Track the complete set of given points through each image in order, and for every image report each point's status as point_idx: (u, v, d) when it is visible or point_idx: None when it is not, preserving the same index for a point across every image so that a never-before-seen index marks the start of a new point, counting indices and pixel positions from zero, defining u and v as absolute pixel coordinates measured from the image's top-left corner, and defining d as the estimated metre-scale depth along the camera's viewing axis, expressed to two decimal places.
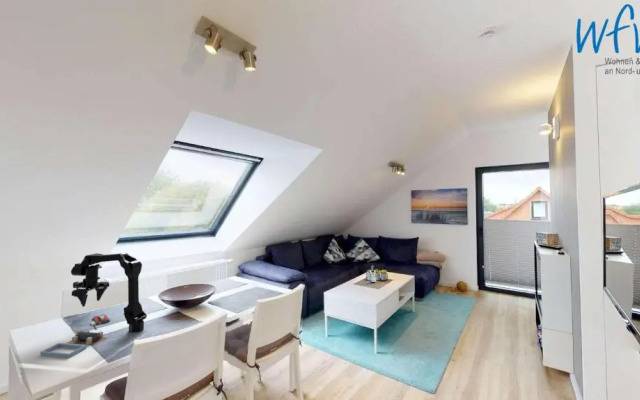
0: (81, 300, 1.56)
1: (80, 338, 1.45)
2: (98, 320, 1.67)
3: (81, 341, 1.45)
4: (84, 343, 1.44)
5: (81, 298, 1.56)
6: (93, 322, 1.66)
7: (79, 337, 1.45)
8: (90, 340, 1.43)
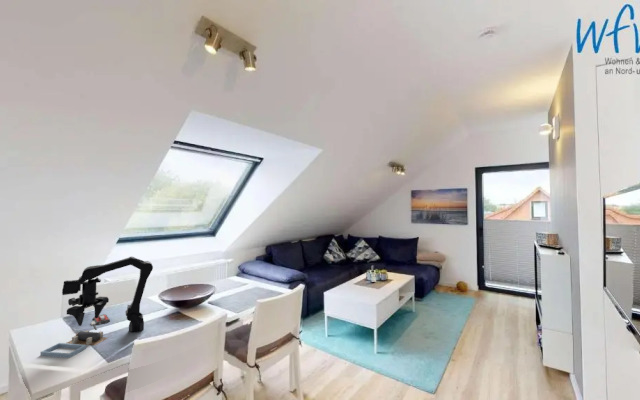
0: (77, 319, 1.41)
1: (80, 337, 1.45)
2: (98, 320, 1.67)
3: (81, 341, 1.45)
4: (84, 343, 1.44)
5: (77, 316, 1.41)
6: (93, 322, 1.66)
7: (80, 336, 1.45)
8: (90, 340, 1.43)
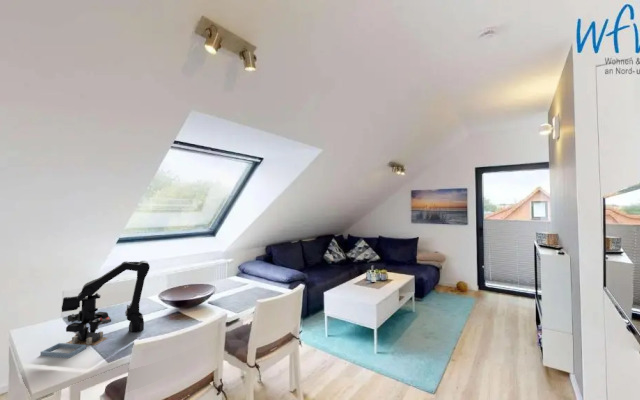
0: (81, 333, 1.43)
1: (80, 338, 1.45)
2: None
3: (81, 341, 1.45)
4: (84, 343, 1.44)
5: (81, 331, 1.43)
6: None
7: (79, 337, 1.45)
8: (90, 340, 1.43)
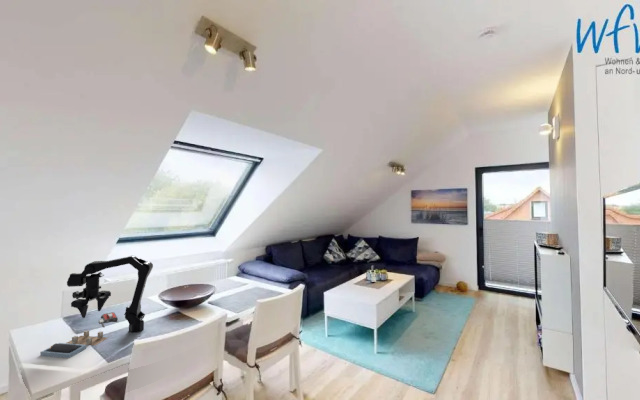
0: (81, 311, 1.47)
1: (55, 351, 1.34)
2: (106, 318, 1.71)
3: (81, 341, 1.45)
4: (84, 343, 1.44)
5: (81, 309, 1.47)
6: (102, 320, 1.70)
7: (54, 350, 1.34)
8: (90, 340, 1.43)
